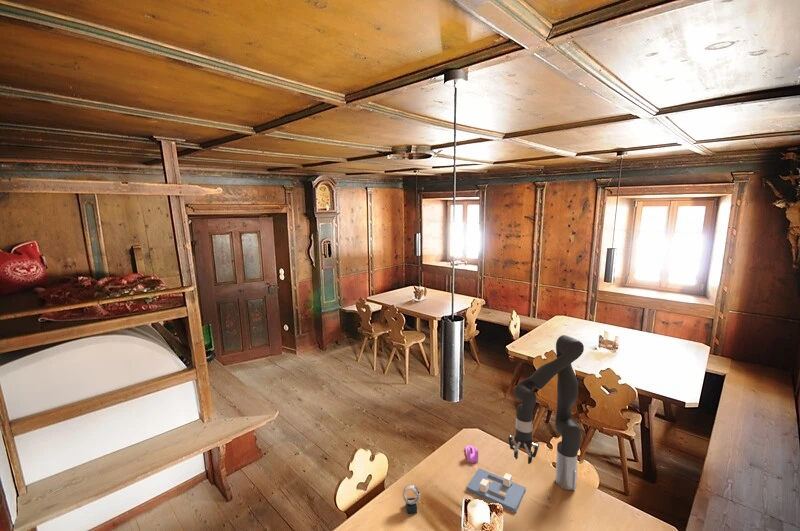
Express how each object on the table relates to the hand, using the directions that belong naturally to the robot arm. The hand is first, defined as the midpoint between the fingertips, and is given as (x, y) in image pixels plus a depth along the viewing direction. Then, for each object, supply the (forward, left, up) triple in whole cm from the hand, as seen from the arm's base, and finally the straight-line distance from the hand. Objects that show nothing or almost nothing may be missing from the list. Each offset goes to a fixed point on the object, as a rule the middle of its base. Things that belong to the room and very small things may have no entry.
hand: (522, 460), depth 165 cm
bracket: (+32, -13, -18) cm, 39 cm away
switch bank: (+11, +5, -17) cm, 21 cm away
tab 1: (+15, +10, -15) cm, 24 cm away
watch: (+39, +38, -18) cm, 57 cm away
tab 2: (+7, 0, -15) cm, 17 cm away
